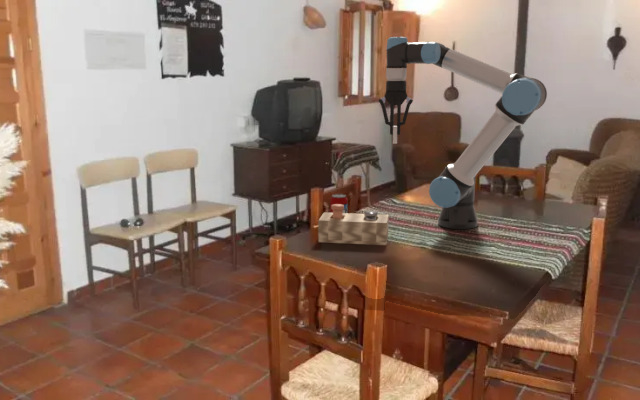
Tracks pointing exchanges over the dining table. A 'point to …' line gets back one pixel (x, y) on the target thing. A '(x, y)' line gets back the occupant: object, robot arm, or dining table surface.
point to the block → (353, 229)
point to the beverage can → (339, 201)
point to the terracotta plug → (337, 211)
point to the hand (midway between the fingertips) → (394, 143)
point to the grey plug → (370, 215)
